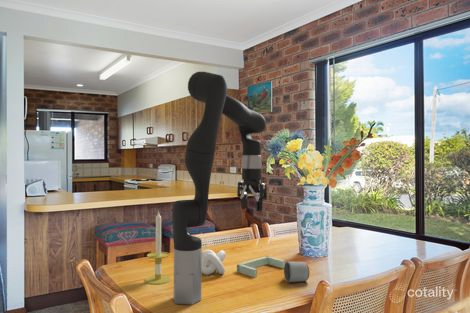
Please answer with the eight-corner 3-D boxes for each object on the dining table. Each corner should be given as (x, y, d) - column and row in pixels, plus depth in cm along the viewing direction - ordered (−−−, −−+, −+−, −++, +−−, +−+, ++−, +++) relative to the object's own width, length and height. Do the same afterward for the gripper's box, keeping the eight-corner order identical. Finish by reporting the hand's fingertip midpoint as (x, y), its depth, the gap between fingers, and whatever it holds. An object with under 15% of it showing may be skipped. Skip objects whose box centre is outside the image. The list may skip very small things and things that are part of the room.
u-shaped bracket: (284, 267, 157) (284, 260, 157) (254, 277, 144) (254, 269, 144) (267, 262, 164) (267, 256, 164) (236, 271, 151) (236, 264, 151)
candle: (154, 274, 147) (155, 207, 147) (176, 277, 143) (176, 209, 143) (139, 282, 137) (139, 211, 137) (162, 286, 134) (162, 212, 134)
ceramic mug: (310, 283, 137) (310, 263, 137) (290, 285, 135) (290, 264, 135) (299, 275, 148) (299, 256, 148) (280, 276, 146) (280, 257, 146)
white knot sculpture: (233, 275, 147) (233, 252, 147) (206, 279, 141) (206, 256, 141) (220, 267, 157) (220, 246, 157) (195, 271, 151) (195, 250, 151)
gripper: (272, 167, 135) (271, 211, 135) (246, 166, 146) (246, 207, 146) (257, 168, 130) (256, 213, 130) (232, 167, 141) (232, 208, 141)
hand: (251, 209), depth 138 cm, fingers open, 8 cm apart
